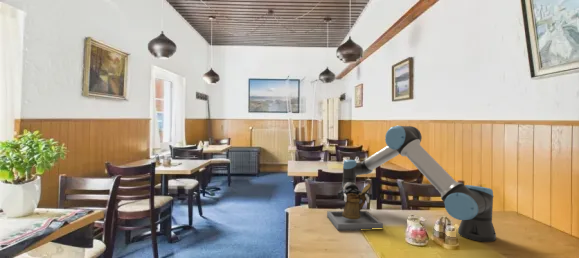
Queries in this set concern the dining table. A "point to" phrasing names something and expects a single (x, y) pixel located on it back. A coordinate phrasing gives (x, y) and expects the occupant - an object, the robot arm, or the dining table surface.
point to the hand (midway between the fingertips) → (357, 199)
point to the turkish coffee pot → (355, 204)
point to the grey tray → (353, 221)
